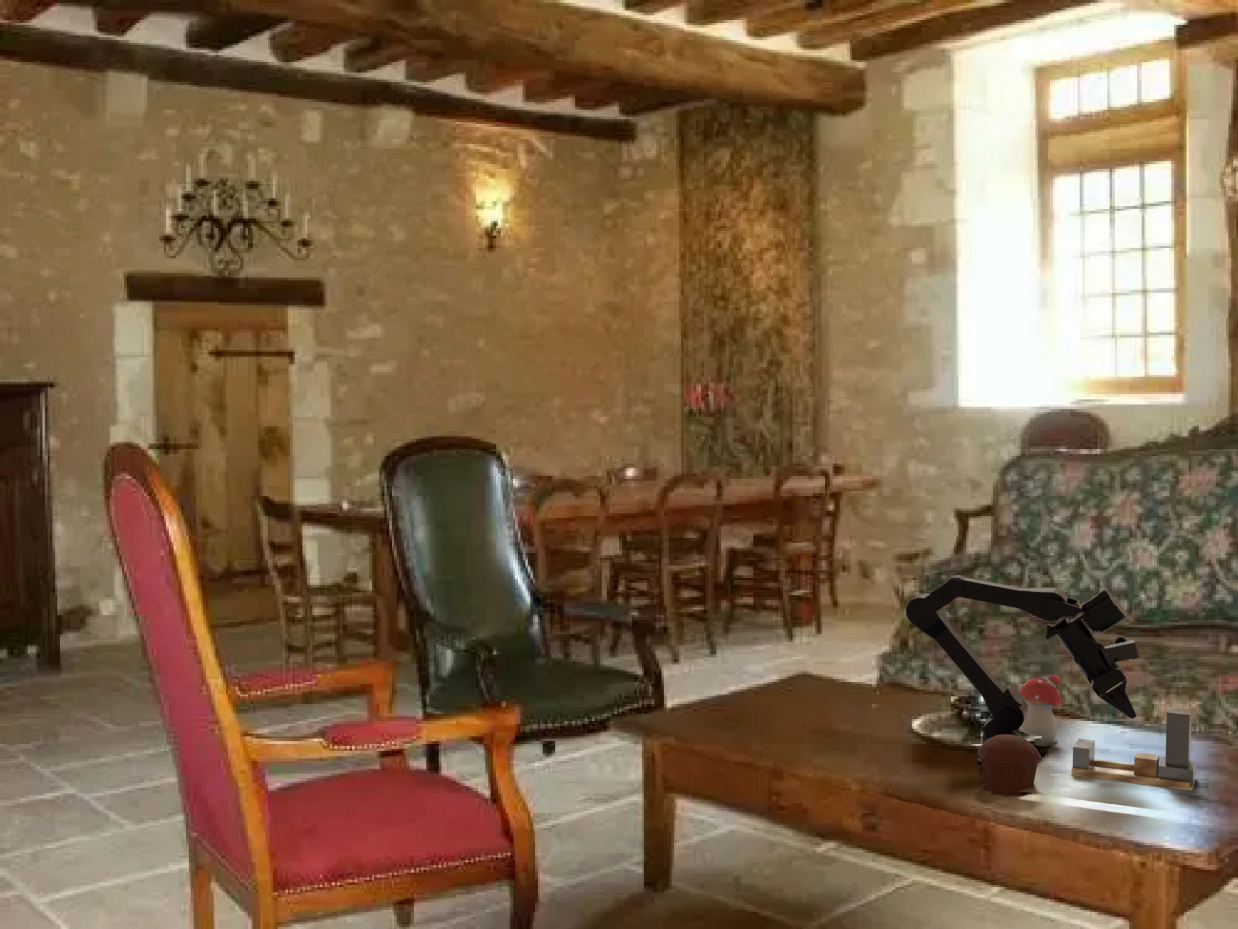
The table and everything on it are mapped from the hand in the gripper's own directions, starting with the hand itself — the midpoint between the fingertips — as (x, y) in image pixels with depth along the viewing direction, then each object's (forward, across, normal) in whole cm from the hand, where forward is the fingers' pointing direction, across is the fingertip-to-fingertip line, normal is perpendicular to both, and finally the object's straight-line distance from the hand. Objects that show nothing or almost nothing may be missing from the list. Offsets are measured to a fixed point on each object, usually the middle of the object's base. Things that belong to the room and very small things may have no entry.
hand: (1132, 714), depth 268 cm
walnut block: (+11, -1, +5) cm, 12 cm away
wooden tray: (+10, -1, +7) cm, 13 cm away
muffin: (-2, -12, +27) cm, 29 cm away
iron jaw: (+4, +1, +14) cm, 14 cm away
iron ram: (+14, -2, 0) cm, 14 cm away
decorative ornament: (-1, +23, +19) cm, 30 cm away
